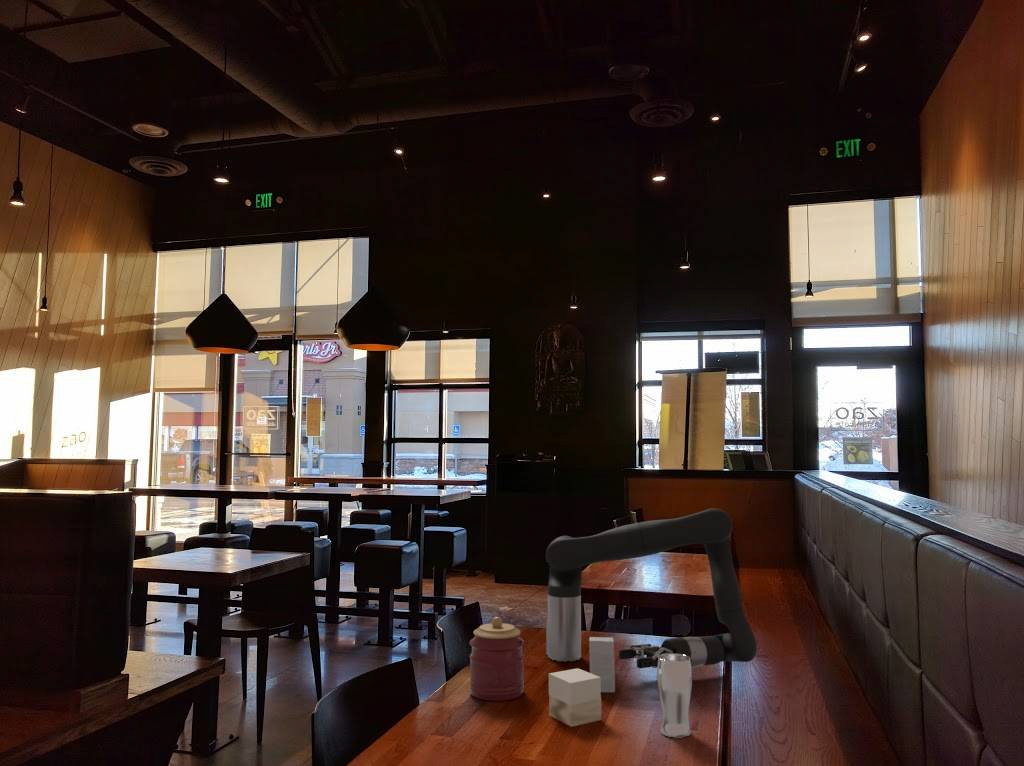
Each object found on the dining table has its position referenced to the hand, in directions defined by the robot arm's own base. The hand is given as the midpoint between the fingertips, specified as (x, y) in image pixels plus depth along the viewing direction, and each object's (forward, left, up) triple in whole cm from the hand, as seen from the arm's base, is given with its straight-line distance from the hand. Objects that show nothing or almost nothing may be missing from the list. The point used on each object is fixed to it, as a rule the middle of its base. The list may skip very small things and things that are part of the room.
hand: (628, 659), depth 184 cm
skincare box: (-1, -7, -7) cm, 10 cm away
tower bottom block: (+11, -24, -7) cm, 27 cm away
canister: (-12, -30, -7) cm, 33 cm away
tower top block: (+11, -24, -2) cm, 27 cm away
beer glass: (+29, -12, -7) cm, 32 cm away
